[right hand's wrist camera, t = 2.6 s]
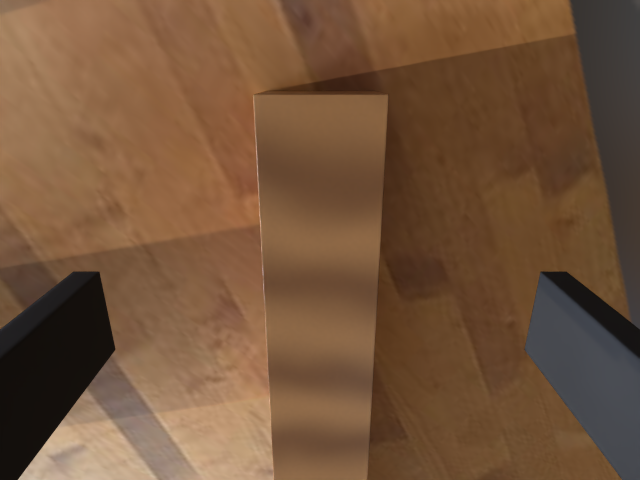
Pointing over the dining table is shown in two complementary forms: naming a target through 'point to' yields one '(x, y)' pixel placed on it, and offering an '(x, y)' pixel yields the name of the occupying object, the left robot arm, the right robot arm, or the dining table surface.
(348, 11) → the dining table surface
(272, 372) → the thick board
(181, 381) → the dining table surface
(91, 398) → the dining table surface
